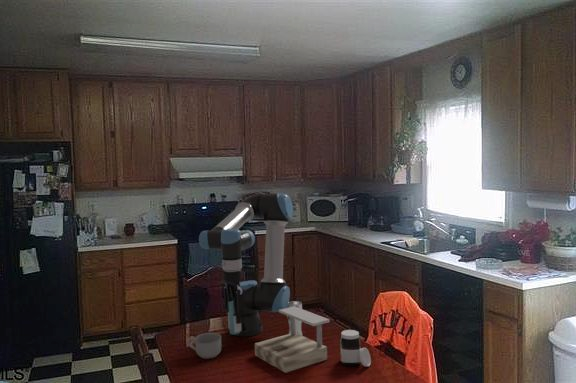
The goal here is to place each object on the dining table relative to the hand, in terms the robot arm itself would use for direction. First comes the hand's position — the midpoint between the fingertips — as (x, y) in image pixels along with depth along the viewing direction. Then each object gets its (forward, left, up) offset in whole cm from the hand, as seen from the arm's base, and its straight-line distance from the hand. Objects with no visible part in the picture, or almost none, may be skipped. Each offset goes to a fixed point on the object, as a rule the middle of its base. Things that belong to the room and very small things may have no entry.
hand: (234, 329), depth 191 cm
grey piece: (+6, +28, -10) cm, 30 cm away
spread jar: (+27, +37, -15) cm, 48 cm away
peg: (0, 0, -1) cm, 1 cm away
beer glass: (-13, +37, -15) cm, 42 cm away
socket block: (+6, +21, -15) cm, 26 cm away
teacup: (-18, -5, -15) cm, 24 cm away
